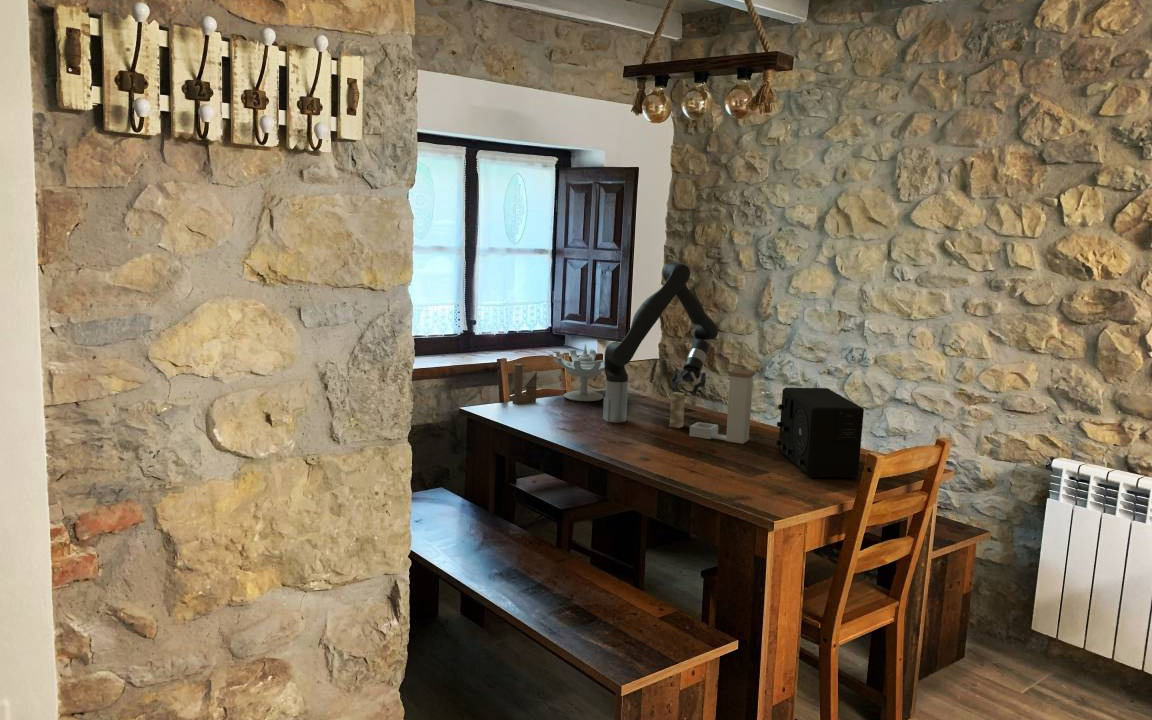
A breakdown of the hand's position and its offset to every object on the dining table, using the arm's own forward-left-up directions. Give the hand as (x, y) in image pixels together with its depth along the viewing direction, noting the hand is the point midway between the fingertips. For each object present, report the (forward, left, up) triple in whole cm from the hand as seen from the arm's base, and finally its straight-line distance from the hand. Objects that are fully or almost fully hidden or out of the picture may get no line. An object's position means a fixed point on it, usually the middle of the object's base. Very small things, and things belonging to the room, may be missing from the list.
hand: (683, 392), depth 374 cm
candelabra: (-27, +54, -14) cm, 62 cm away
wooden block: (-57, +49, -14) cm, 76 cm away
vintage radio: (+21, -67, -14) cm, 71 cm away
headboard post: (+5, -26, -13) cm, 29 cm away
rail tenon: (-5, -5, -13) cm, 15 cm away
